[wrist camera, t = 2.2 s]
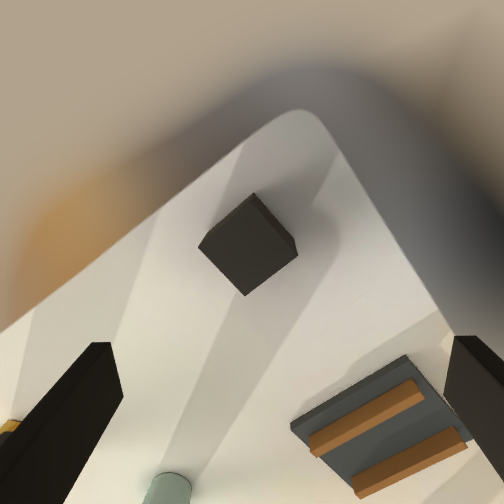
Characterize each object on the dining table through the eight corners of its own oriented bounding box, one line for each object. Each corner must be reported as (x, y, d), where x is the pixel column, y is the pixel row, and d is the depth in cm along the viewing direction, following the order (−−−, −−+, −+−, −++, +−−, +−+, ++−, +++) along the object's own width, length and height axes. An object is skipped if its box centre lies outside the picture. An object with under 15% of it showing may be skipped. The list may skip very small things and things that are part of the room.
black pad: (253, 192, 29) (251, 201, 24) (294, 239, 30) (298, 255, 26) (207, 232, 30) (197, 247, 26) (247, 275, 31) (244, 296, 27)
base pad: (405, 354, 34) (417, 373, 31) (469, 430, 37) (486, 454, 34) (289, 423, 38) (291, 445, 35) (356, 486, 41) (363, 512, 38)
